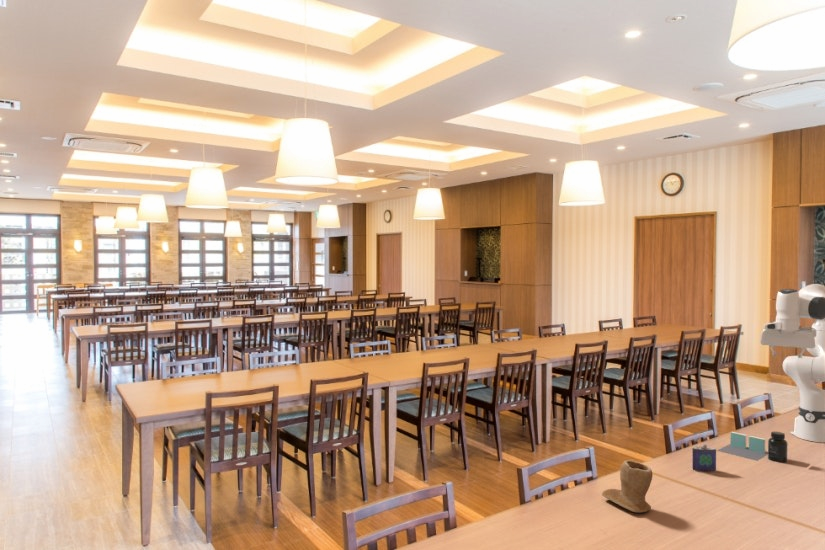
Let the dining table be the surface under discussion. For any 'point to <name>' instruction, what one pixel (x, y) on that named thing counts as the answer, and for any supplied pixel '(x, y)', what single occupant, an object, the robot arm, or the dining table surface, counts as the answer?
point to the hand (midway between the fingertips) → (786, 356)
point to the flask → (704, 458)
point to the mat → (743, 452)
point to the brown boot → (632, 487)
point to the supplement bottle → (777, 447)
